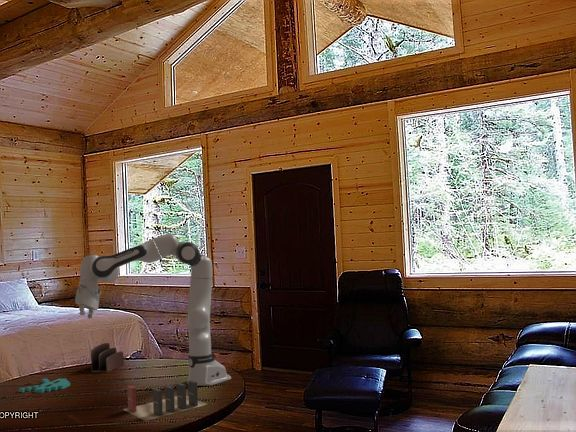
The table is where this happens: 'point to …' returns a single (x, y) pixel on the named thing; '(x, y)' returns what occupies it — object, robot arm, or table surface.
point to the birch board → (147, 410)
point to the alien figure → (47, 386)
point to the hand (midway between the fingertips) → (86, 316)
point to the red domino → (131, 398)
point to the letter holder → (105, 358)
